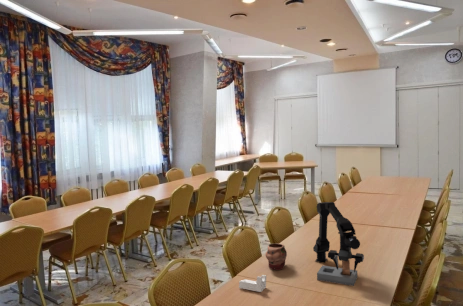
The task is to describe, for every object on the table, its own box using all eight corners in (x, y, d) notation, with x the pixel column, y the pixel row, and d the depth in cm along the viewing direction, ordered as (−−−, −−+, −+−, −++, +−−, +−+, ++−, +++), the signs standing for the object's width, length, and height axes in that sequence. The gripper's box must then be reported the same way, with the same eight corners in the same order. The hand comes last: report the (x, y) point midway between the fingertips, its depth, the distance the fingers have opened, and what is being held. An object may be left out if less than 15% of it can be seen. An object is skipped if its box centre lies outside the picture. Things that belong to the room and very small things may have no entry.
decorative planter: (274, 259, 234) (273, 239, 233) (292, 262, 228) (291, 241, 227) (262, 270, 217) (261, 248, 216) (280, 274, 210) (279, 251, 209)
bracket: (265, 289, 194) (266, 275, 195) (260, 291, 187) (261, 277, 189) (244, 285, 200) (245, 272, 201) (238, 287, 194) (239, 273, 195)
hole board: (322, 271, 210) (322, 265, 210) (357, 277, 201) (357, 270, 200) (317, 279, 200) (316, 273, 200) (353, 285, 190) (353, 278, 190)
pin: (341, 278, 197) (341, 261, 196) (343, 275, 200) (342, 258, 200) (349, 279, 195) (348, 261, 194) (350, 276, 198) (350, 259, 198)
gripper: (325, 246, 194) (325, 273, 195) (360, 250, 185) (361, 279, 186) (329, 239, 204) (330, 266, 205) (363, 243, 194) (364, 271, 196)
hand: (346, 270), depth 197 cm, fingers open, 9 cm apart
